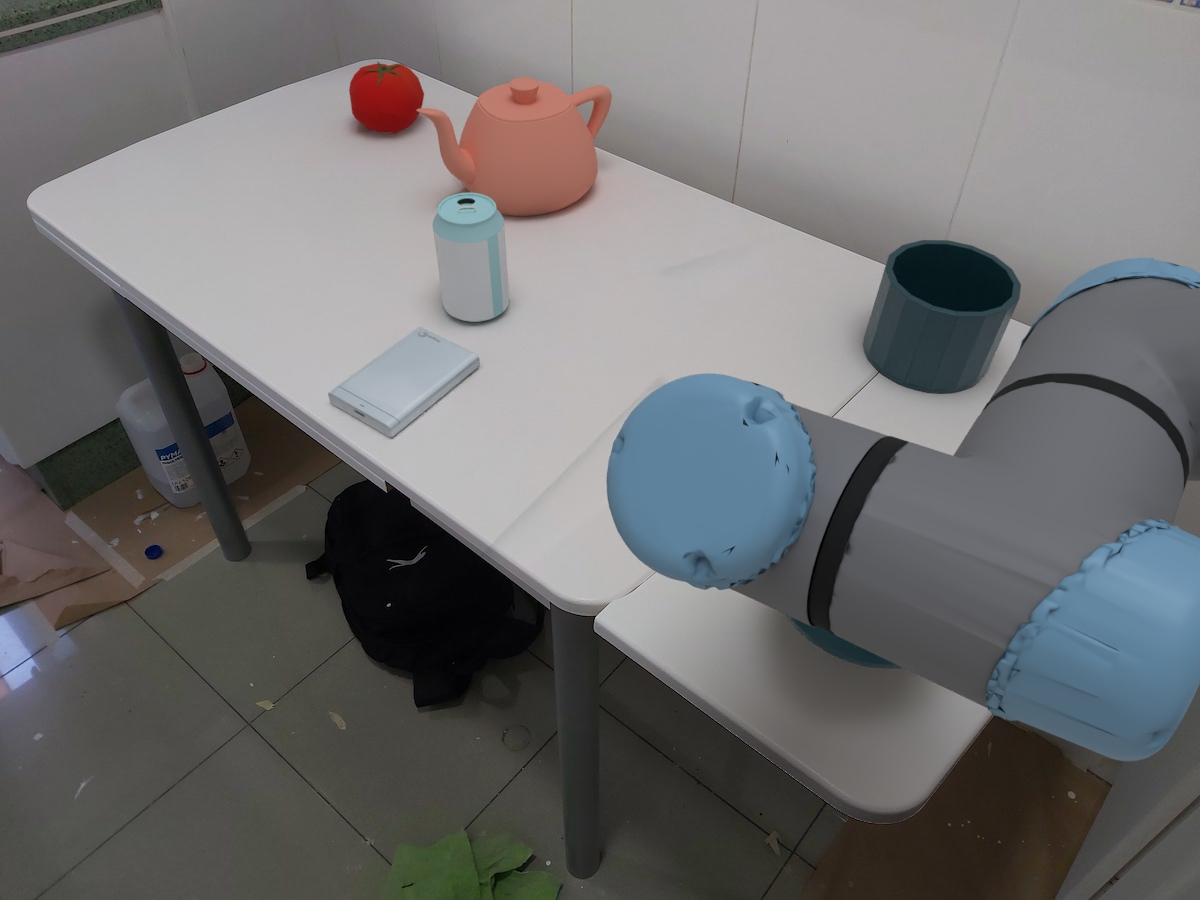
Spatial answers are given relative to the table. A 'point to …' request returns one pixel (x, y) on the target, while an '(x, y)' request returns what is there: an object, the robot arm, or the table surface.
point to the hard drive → (404, 381)
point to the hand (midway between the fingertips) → (904, 533)
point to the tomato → (385, 97)
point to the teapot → (525, 145)
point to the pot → (940, 315)
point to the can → (471, 257)
